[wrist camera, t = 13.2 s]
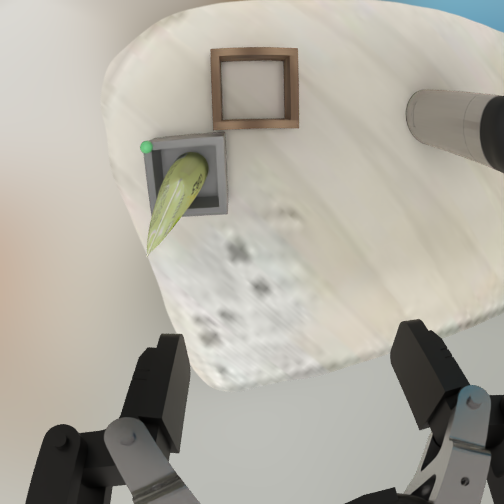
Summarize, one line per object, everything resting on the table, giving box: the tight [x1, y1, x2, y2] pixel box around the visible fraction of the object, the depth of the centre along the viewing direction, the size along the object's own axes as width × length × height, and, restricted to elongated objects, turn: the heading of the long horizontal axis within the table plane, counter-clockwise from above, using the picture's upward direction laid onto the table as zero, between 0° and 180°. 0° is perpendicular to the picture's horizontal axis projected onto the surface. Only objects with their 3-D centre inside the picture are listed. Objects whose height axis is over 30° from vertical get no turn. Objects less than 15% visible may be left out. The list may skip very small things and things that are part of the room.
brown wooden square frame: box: [210, 47, 299, 130], centre depth 36 cm, size 10×10×5 cm
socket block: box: [140, 132, 228, 217], centre depth 39 cm, size 10×10×7 cm
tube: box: [146, 152, 209, 257], centre depth 33 cm, size 6×5×20 cm
